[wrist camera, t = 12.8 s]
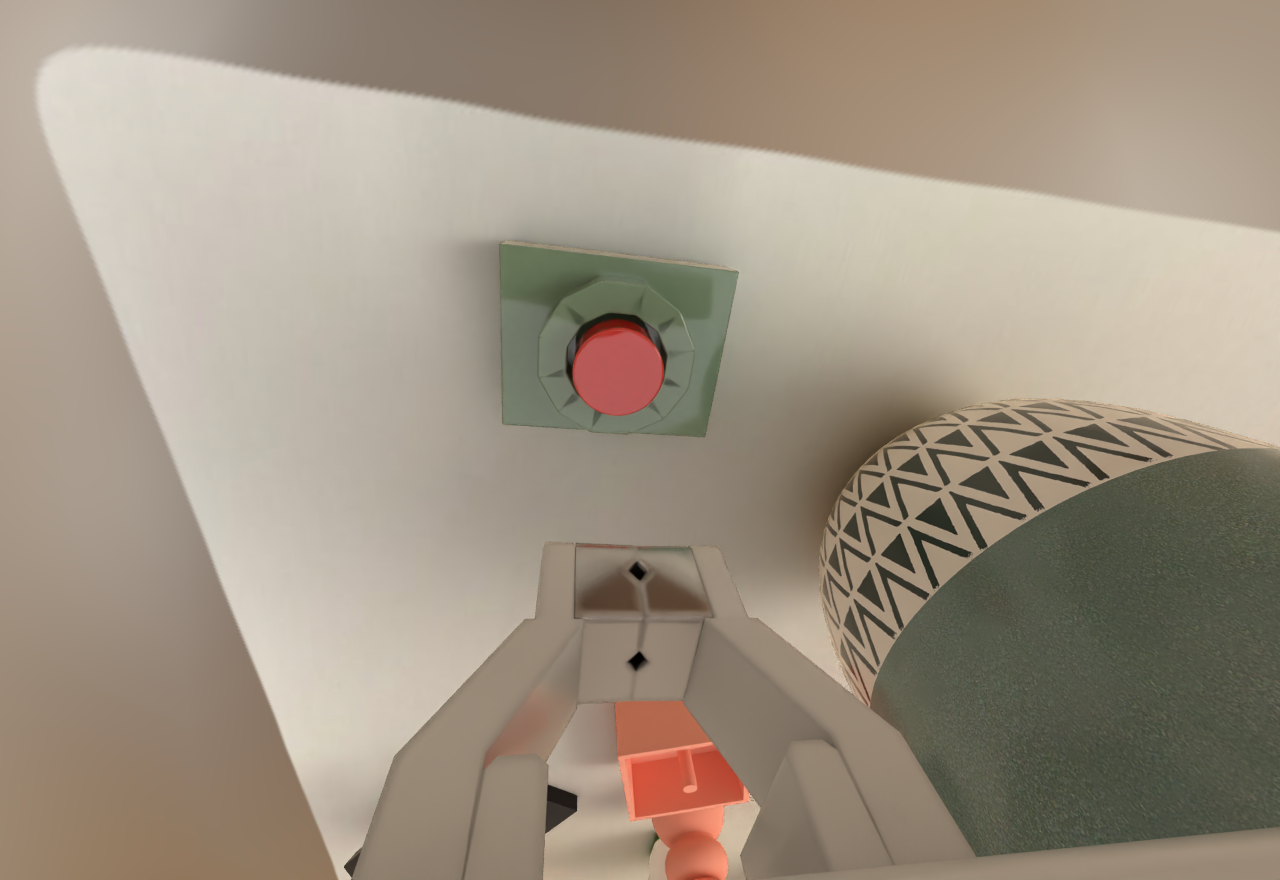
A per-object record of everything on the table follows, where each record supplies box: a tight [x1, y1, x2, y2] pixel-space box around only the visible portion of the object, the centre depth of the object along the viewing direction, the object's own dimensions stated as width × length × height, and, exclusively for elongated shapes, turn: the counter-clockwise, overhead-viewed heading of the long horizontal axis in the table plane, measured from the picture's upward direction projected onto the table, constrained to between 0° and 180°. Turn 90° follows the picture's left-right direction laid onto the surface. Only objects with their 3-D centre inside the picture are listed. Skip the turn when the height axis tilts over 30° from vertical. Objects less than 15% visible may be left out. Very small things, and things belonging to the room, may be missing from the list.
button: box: [572, 319, 664, 416], centre depth 18 cm, size 4×4×2 cm
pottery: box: [615, 701, 749, 880], centre depth 35 cm, size 18×10×10 cm, turn 5°
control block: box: [499, 240, 738, 437], centre depth 21 cm, size 10×8×4 cm
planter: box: [818, 399, 1280, 857], centre depth 19 cm, size 20×20×21 cm
